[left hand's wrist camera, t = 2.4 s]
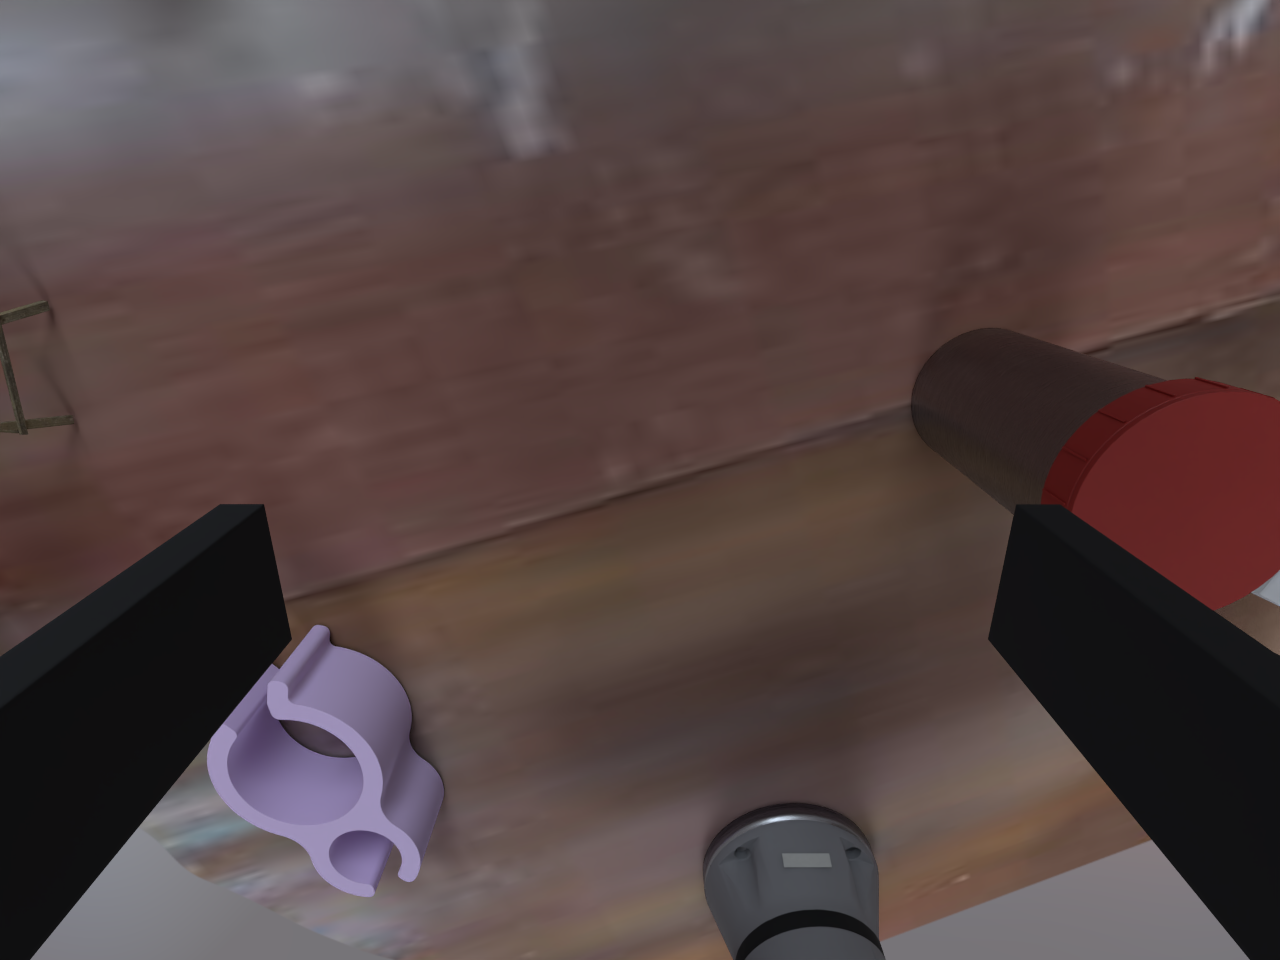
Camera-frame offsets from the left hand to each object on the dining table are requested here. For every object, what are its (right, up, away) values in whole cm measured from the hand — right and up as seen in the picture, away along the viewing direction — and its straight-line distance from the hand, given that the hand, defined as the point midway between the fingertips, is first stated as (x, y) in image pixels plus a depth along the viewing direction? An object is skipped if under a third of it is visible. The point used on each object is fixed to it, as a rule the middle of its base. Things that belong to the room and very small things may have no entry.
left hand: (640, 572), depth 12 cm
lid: (+23, 0, +17) cm, 29 cm away
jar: (+23, +7, +35) cm, 43 cm away
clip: (-24, -19, +46) cm, 55 cm away
